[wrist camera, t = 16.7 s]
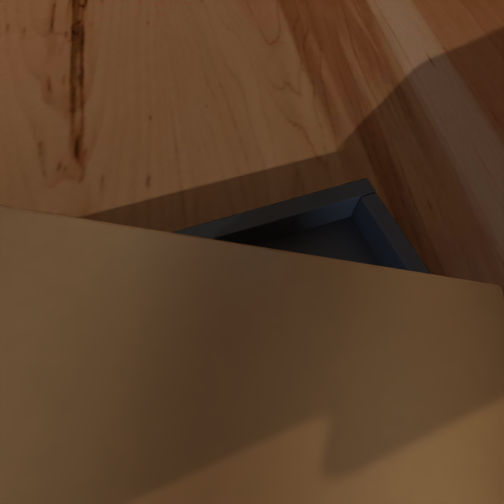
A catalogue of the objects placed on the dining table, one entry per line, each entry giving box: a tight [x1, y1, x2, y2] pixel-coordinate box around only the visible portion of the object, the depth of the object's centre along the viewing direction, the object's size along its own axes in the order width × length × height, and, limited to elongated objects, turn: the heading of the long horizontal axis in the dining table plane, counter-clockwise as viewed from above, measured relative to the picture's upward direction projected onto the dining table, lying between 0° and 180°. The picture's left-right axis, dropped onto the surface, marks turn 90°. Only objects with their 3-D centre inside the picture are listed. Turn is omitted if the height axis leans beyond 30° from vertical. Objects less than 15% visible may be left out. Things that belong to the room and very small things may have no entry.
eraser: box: [0, 205, 504, 504], centre depth 11 cm, size 11×6×10 cm, turn 83°
